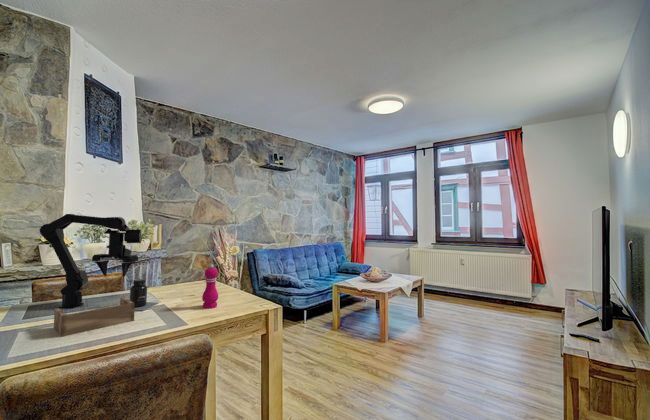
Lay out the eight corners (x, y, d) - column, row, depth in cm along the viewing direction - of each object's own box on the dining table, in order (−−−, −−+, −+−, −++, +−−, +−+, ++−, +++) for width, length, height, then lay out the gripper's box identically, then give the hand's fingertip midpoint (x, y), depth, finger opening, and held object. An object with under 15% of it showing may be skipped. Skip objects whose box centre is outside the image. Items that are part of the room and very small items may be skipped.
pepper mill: (220, 305, 147) (222, 263, 147) (213, 309, 140) (215, 265, 140) (206, 304, 147) (208, 262, 148) (198, 308, 140) (200, 265, 141)
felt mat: (116, 310, 134) (116, 309, 134) (133, 302, 146) (134, 301, 146) (142, 311, 134) (142, 310, 134) (158, 303, 146) (158, 302, 146)
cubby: (53, 327, 112) (54, 308, 112) (122, 313, 130) (123, 297, 130) (61, 336, 104) (62, 316, 105) (134, 320, 122) (134, 303, 122)
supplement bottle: (142, 308, 137) (143, 281, 137) (126, 307, 136) (127, 281, 137) (149, 303, 144) (150, 278, 144) (134, 303, 143) (135, 278, 144)
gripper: (145, 242, 152) (144, 273, 152) (109, 241, 153) (108, 272, 152) (131, 244, 141) (129, 278, 141) (91, 243, 142) (90, 276, 141)
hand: (114, 276), depth 144 cm, fingers open, 9 cm apart
